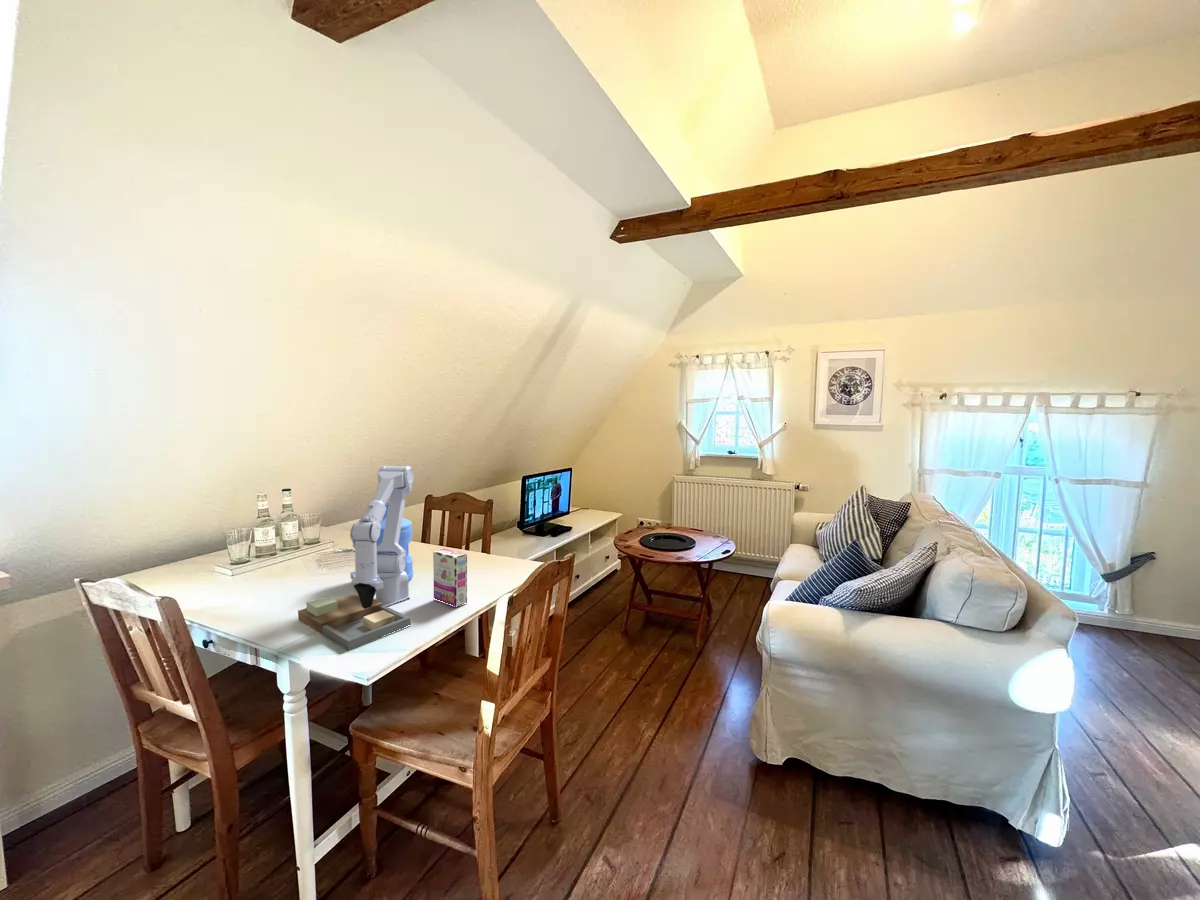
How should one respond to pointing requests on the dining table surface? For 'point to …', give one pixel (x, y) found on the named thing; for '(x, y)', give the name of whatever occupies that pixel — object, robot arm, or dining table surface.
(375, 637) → the tray
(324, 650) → the dining table surface
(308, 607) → the sage tile
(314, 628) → the walnut board
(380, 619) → the ash block
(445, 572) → the candy bar box
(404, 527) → the water jug
